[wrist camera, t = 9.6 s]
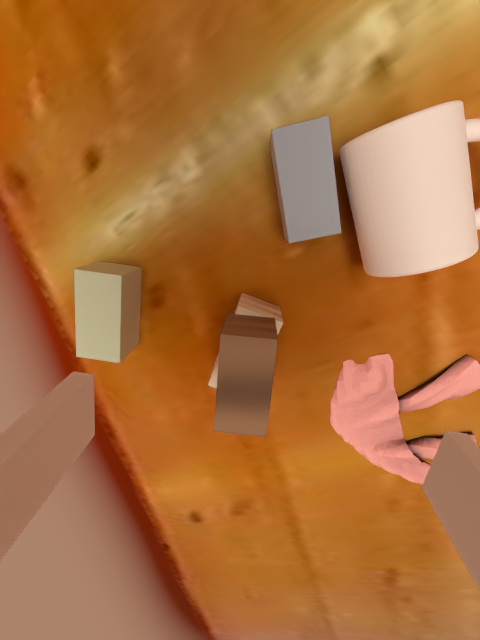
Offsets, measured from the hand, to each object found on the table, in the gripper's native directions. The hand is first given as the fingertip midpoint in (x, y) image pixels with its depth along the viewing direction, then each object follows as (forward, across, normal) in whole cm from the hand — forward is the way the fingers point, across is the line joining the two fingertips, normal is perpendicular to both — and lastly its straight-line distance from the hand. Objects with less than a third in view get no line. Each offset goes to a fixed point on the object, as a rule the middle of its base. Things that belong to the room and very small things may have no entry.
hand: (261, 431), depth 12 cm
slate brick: (+21, +2, +10) cm, 23 cm away
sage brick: (+20, -14, -3) cm, 25 cm away
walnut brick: (+15, -1, -5) cm, 16 cm away
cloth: (+21, +20, -11) cm, 31 cm away
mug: (+21, +11, +11) cm, 26 cm away
